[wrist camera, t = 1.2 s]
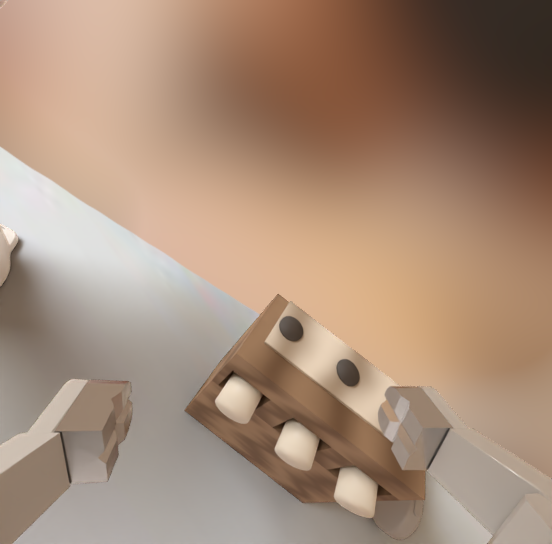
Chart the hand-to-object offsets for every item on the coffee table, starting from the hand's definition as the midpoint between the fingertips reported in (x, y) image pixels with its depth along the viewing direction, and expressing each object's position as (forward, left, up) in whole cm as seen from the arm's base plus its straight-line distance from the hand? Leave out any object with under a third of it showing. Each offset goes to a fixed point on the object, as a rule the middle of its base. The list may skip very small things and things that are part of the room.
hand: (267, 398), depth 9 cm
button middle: (+9, +8, -20) cm, 23 cm away
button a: (+2, +8, -20) cm, 21 cm away
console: (+9, +12, -33) cm, 36 cm away
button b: (+16, +8, -20) cm, 27 cm away
